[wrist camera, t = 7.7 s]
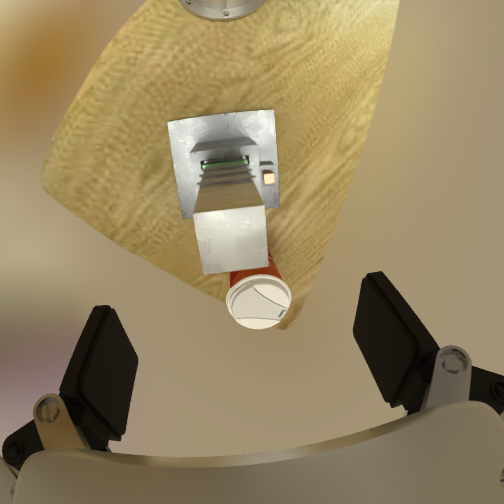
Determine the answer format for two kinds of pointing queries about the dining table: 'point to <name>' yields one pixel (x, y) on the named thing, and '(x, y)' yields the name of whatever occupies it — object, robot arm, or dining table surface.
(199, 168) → the stand base
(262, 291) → the paper cup
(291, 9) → the dining table surface
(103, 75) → the dining table surface
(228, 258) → the column
